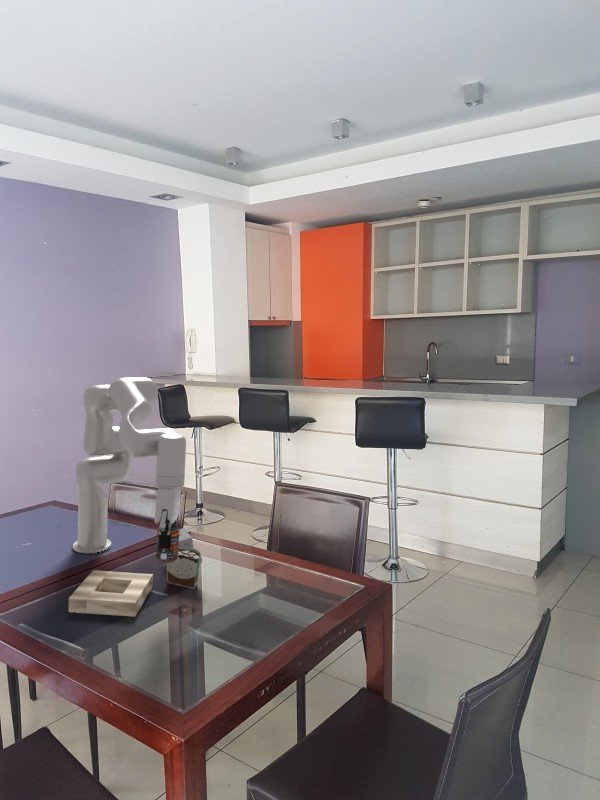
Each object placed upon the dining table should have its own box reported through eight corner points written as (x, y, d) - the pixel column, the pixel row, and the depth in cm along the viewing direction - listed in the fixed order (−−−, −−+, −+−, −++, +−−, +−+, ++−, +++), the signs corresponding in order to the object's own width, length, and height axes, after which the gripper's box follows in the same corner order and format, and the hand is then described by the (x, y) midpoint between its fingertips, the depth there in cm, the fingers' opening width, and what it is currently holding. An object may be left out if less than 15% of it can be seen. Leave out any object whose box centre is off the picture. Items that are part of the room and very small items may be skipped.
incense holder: (162, 559, 196) (163, 529, 195) (187, 556, 200) (188, 527, 199) (170, 571, 187) (171, 540, 186) (195, 568, 191) (196, 537, 190)
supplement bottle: (167, 565, 157) (168, 525, 156) (151, 559, 160) (152, 519, 159) (182, 558, 162) (184, 519, 161) (167, 553, 165) (168, 514, 164)
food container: (208, 582, 182) (209, 551, 180) (198, 590, 176) (200, 558, 175) (173, 574, 186) (174, 543, 184) (163, 581, 180) (164, 550, 178)
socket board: (92, 583, 176) (93, 570, 175) (152, 587, 176) (153, 574, 175) (68, 612, 158) (68, 598, 157) (135, 616, 158) (135, 602, 157)
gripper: (164, 470, 167) (161, 531, 169) (147, 487, 150) (145, 555, 152) (190, 472, 167) (187, 533, 169) (177, 489, 150) (174, 557, 152)
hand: (167, 543), depth 161 cm, fingers closed on supplement bottle, 6 cm apart
